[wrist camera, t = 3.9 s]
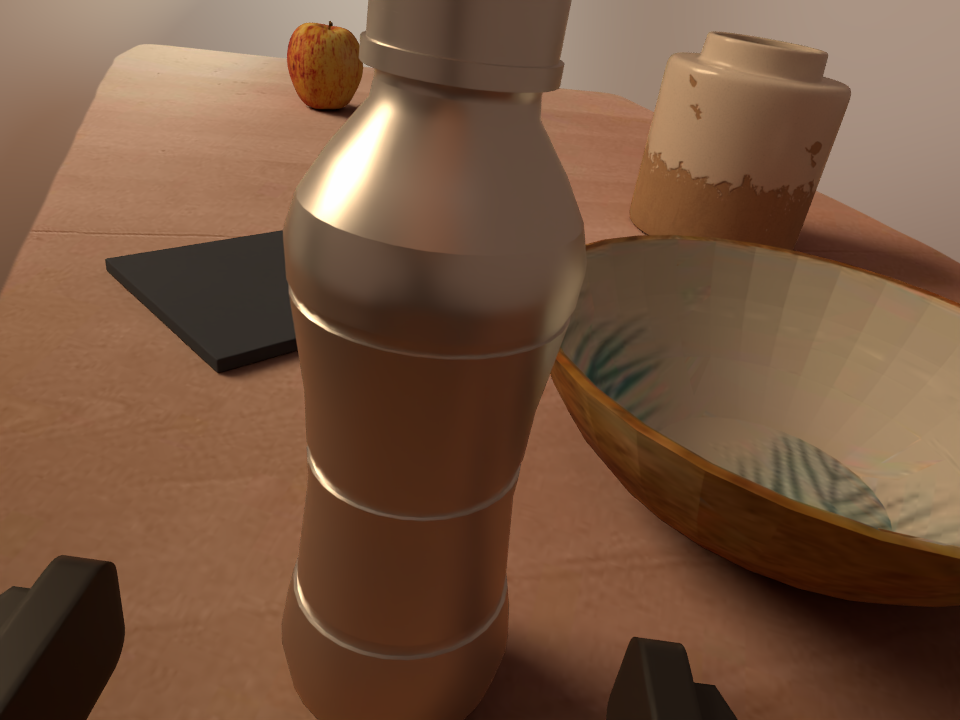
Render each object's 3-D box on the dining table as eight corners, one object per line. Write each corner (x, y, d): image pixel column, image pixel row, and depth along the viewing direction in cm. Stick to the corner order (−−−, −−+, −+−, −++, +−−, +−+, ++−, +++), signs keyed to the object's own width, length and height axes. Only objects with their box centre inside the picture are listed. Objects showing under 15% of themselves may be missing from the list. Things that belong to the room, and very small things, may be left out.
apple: (326, 97, 97) (329, 14, 92) (376, 113, 93) (382, 27, 88) (271, 101, 90) (271, 12, 85) (323, 119, 86) (326, 27, 81)
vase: (597, 205, 71) (639, 19, 63) (714, 203, 78) (766, 35, 70) (700, 269, 60) (769, 51, 52) (827, 260, 66) (905, 66, 58)
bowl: (1223, 673, 28) (1375, 518, 25) (666, 826, 20) (761, 631, 16) (802, 351, 49) (849, 238, 45) (440, 363, 41) (458, 226, 37)
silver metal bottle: (525, 746, 22) (733, 13, 12) (292, 807, 19) (314, -48, 10) (459, 584, 27) (566, -23, 17) (268, 616, 24) (266, -68, 15)
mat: (217, 373, 37) (216, 360, 36) (106, 270, 45) (104, 258, 44) (451, 306, 47) (452, 295, 47) (327, 232, 55) (327, 222, 55)
